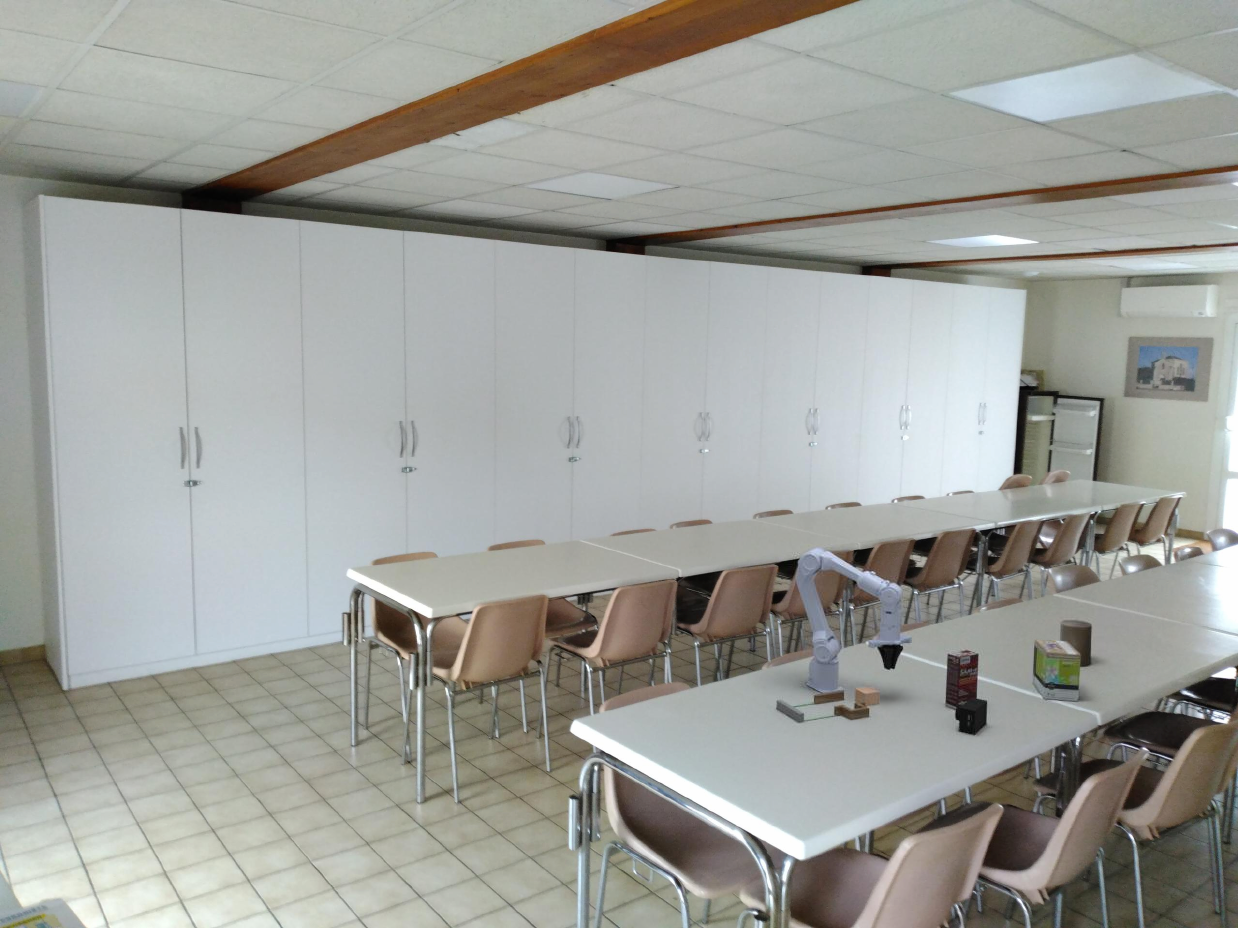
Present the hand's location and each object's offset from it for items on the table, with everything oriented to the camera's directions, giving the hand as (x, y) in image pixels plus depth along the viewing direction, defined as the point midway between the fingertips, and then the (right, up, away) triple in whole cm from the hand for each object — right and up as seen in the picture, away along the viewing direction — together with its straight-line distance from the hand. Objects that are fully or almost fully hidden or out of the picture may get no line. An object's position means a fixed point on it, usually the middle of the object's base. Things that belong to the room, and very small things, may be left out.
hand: (889, 668), depth 273 cm
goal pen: (-27, -10, -10) cm, 30 cm away
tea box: (+53, -9, +6) cm, 54 cm away
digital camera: (+16, -12, -22) cm, 30 cm away
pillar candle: (+74, -6, +36) cm, 83 cm away
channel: (-16, -10, -8) cm, 20 cm away
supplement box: (+20, -10, -5) cm, 23 cm away
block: (-7, -10, -2) cm, 12 cm away
